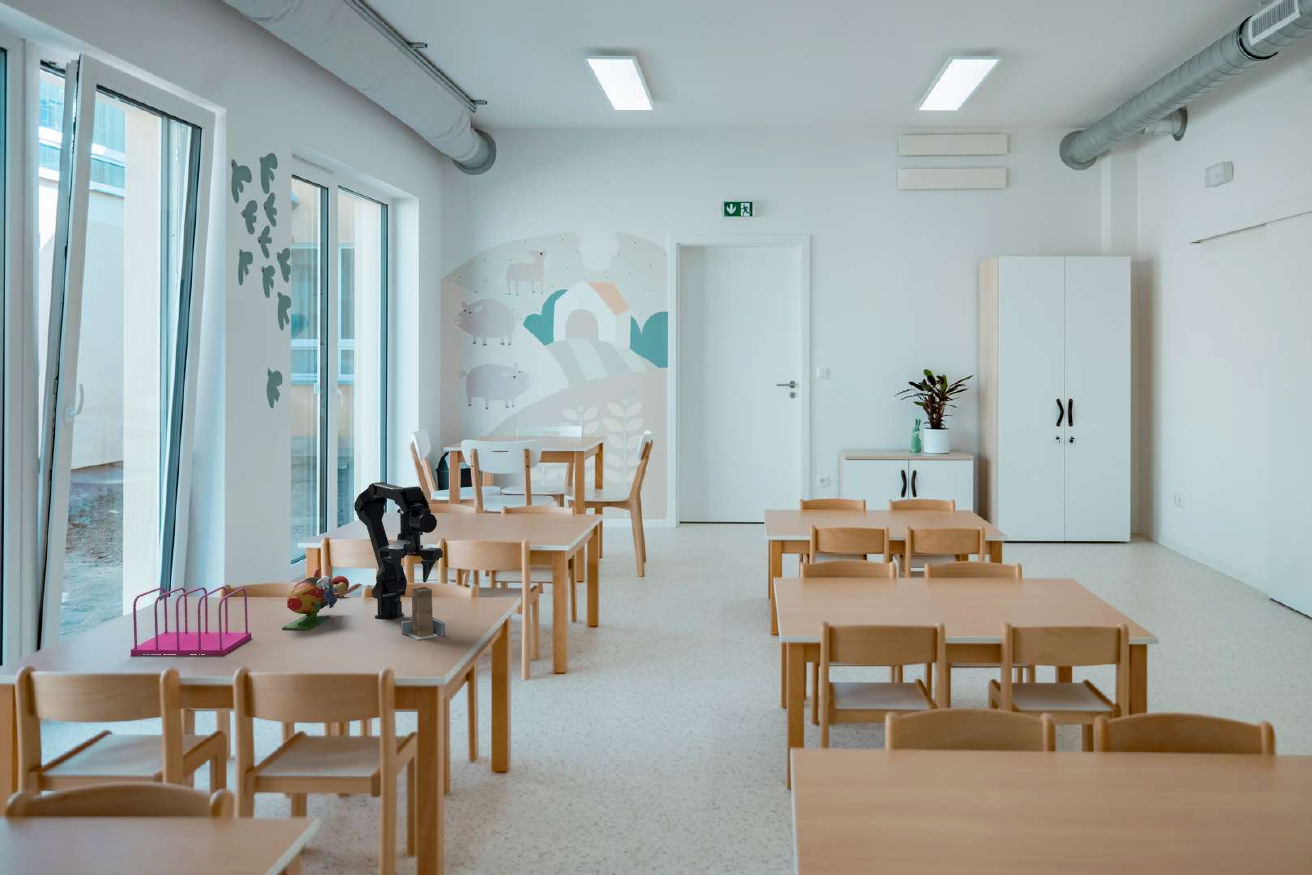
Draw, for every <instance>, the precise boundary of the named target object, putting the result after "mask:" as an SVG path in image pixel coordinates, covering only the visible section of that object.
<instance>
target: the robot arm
mask: <svg viewBox="0 0 1312 875" xmlns="http://www.w3.org/2000/svg"><path fill="white" fill-rule="evenodd" d="M388 500H391V501H393V502H394V504H395V505H397V506H398V507H399V508H398V509H397V510H396V513H397V514H399V518H400V519H399V521H400V522H399V524H400V532H399V533H397V538H396V540H394V541H393V542H392V543H391V544H389V540H388V536H387V533H386V529H385V526H384V523H383V517H384V514H385V511H386V510H385V506H386V504H387V503H388ZM429 504H430V503H429V501H428V499H427V498H426V496H425V493H424V491H423V490H422V488H421V487H420V486H417V485H416V486H408V487H403V486H399V485H395V484H390V483H387V482H385V481H381V482H380V481H379V482H371V483H370V484H369V485H368V487H367V488H366V489H365V490H364V491H362V492H361V493H359V494H358V496H357V498H356V500H354V505H353V508H354V511H355V512H356V515H357V517H358V520H359V521H361V523H363V524H364V526H366V529H367V532H368V536H369V539H370V544H371V546H372V549H373V552H374V557H375V561H376V563H377V567H378V569H377V573H376V577H375V579H376V580H375V581H376V583H375V585H373V586H374V587H373V588H372V589H371V594H372V598H373V599H377V614H376V615H374V618H375V619H387V620H394V619H397V618H399V617H401V616H404V615H405V613H404V612H403V602H402V600H401V599H402V598H401V597H402V596H403V597H405V596H406V591H407V586H408V580H407V576H406V574H405V570H404V567H403V565H402V559H405V558H406V557H407V556H412V557H420V558H421V559H422V560H420V561H419V562H420V564H421V565H422V581H423V582H422V583H427V582H428V579H429V576H430V574H431V572H432V569H433V568H434V566H435V564H436V562H438V561H439V560H440V559H441V558H444V551H443V550H442V548H441V547H428V548H425V549H424V545H423V544H422V542H421V536H423V535H424V533H425V534H430V533H433V532H434V531H435V529H436V528H437V525H438V520H437V517H436V515H434V514H433V513H432V512H431V511H432V510H431V508H430V506H429Z"/></svg>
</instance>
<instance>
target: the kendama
mask: <svg viewBox="0 0 1312 875" xmlns="http://www.w3.org/2000/svg"><path fill="white" fill-rule="evenodd" d="M331 584H333V587H335V588H336V589H337V590H338V593H340V595H338V596H337V597H338V598H340V597H341V598H342V597H343V596H344V595H345V593H346V592H347V591H348V590H349V587H350V582H349V579H348V578H347V577H346V576H344V575H338V576H335V577H334V578H333V579H331ZM337 597H336V598H337Z"/></svg>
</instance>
